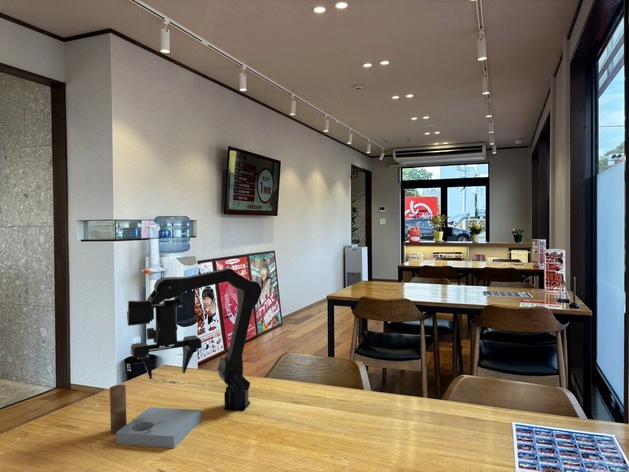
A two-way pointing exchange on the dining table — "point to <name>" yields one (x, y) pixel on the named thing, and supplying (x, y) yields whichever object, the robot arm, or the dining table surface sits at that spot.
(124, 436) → the plate
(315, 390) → the dining table surface
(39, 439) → the dining table surface
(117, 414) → the peg
